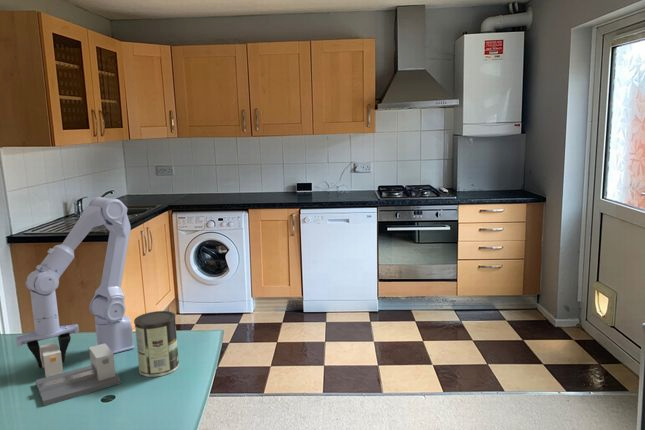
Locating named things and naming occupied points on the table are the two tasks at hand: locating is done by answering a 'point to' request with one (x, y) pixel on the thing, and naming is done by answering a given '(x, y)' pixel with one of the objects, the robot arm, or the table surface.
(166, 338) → the coffee can
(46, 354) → the block
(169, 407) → the table surface
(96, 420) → the table surface
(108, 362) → the rail board
